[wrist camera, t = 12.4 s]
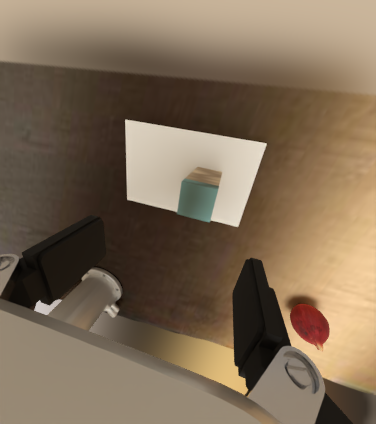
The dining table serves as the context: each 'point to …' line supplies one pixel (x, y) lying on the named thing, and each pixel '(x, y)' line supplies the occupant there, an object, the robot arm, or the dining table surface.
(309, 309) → the onion
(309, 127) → the dining table surface
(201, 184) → the block
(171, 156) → the mat
